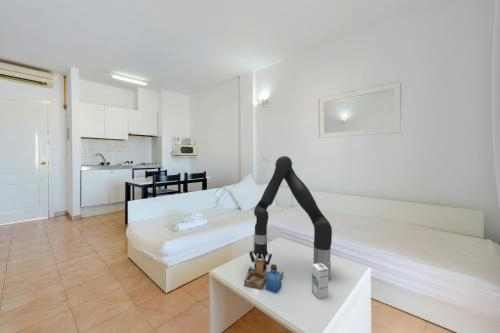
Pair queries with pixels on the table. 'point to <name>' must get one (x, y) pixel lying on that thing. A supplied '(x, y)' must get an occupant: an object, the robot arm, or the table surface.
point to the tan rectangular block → (259, 267)
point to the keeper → (255, 280)
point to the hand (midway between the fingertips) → (260, 269)
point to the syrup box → (320, 280)
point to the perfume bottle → (273, 280)
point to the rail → (264, 272)
